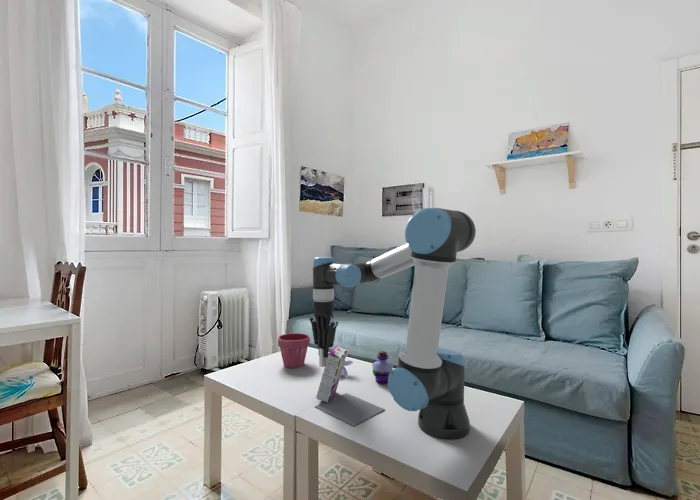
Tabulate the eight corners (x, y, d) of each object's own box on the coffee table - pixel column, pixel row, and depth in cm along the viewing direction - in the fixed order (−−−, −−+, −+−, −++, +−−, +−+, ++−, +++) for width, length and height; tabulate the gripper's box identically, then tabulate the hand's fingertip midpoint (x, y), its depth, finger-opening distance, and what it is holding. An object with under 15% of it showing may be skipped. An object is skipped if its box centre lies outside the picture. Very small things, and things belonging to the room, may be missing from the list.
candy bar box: (323, 387, 133) (335, 345, 133) (336, 391, 132) (348, 349, 132) (314, 398, 122) (328, 353, 122) (328, 403, 121) (341, 358, 121)
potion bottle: (367, 380, 143) (367, 351, 143) (383, 375, 148) (383, 347, 148) (381, 387, 136) (381, 356, 136) (398, 382, 142) (398, 352, 141)
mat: (384, 410, 118) (384, 409, 118) (353, 426, 107) (353, 425, 107) (346, 393, 131) (346, 393, 131) (314, 407, 120) (314, 406, 120)
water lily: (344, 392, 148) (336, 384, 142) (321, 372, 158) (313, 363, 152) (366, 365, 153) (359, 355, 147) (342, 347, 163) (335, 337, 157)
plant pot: (299, 357, 172) (299, 331, 171) (315, 365, 161) (315, 337, 161) (272, 363, 163) (272, 335, 162) (287, 372, 152) (287, 342, 152)
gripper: (343, 301, 126) (343, 367, 126) (319, 297, 135) (319, 359, 135) (328, 303, 120) (328, 373, 121) (303, 299, 129) (303, 364, 130)
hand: (323, 365), depth 128 cm, fingers closed
